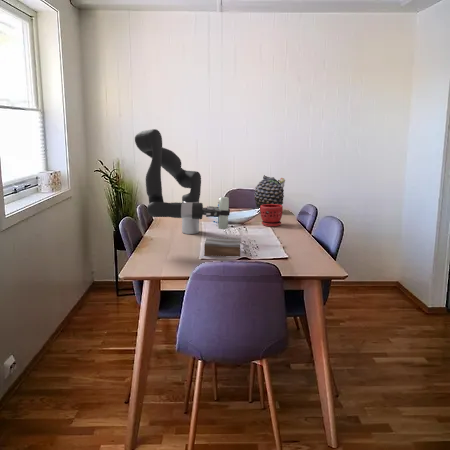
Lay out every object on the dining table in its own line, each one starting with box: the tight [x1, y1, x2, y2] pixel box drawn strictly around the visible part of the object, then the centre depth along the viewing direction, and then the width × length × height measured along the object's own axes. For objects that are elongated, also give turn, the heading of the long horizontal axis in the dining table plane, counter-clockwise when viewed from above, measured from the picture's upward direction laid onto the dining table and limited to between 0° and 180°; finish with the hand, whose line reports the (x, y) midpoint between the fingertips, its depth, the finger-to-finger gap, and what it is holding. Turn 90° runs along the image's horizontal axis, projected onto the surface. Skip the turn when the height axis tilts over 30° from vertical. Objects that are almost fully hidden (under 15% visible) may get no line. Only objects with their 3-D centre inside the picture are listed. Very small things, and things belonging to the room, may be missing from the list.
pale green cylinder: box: [217, 196, 230, 230], centre depth 214 cm, size 4×4×14 cm
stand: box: [203, 237, 241, 257], centre depth 217 cm, size 12×16×6 cm
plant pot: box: [259, 204, 284, 227], centre depth 279 cm, size 13×13×12 cm
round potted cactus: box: [253, 174, 286, 213], centre depth 317 cm, size 21×15×25 cm
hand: (229, 212), depth 214 cm, fingers closed on pale green cylinder, 4 cm apart
